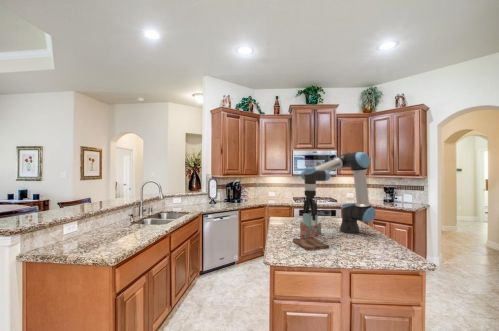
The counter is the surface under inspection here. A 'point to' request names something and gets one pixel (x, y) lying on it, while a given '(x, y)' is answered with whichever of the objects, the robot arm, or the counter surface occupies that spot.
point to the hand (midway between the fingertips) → (310, 223)
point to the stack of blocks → (309, 230)
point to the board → (310, 243)
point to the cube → (308, 219)
